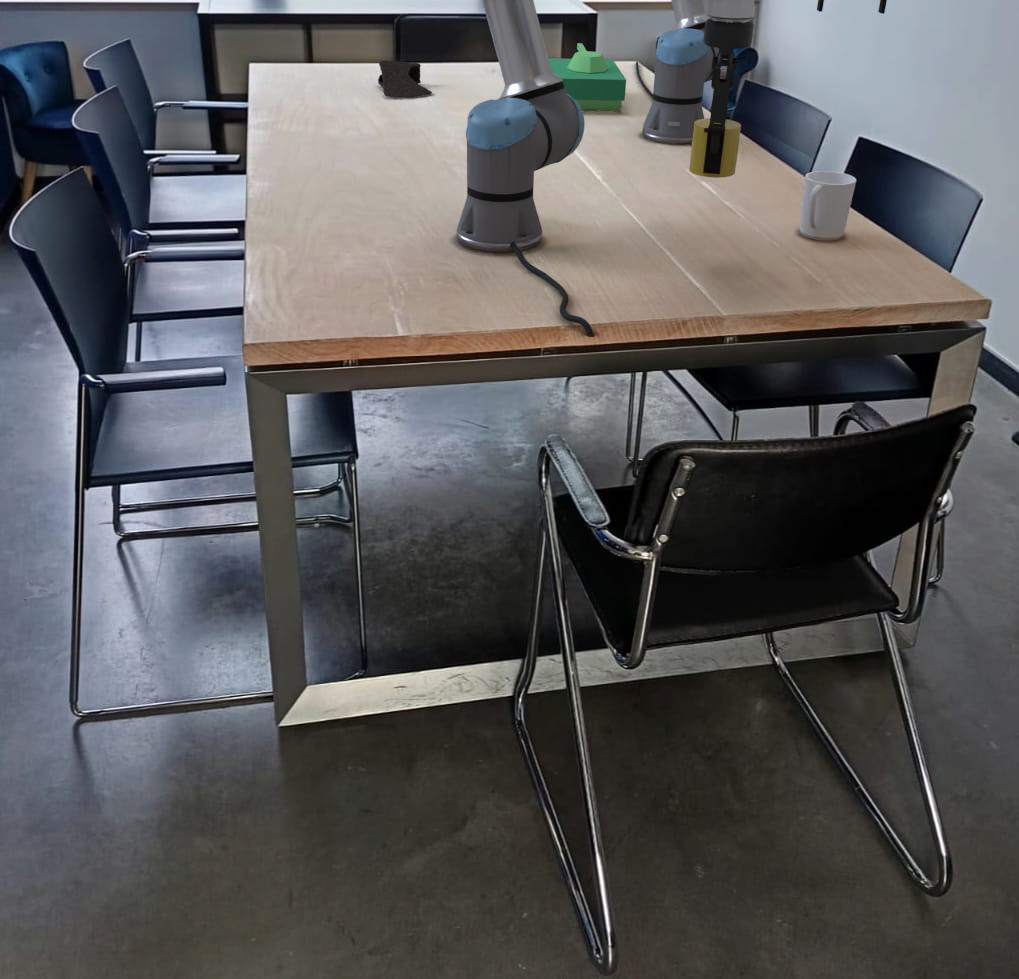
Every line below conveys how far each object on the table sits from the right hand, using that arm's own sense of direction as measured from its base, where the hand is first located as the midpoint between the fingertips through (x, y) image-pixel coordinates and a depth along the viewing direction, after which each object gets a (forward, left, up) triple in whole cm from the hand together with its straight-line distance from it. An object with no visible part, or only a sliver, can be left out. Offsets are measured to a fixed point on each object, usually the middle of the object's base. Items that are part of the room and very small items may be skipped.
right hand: (850, 11), depth 243 cm
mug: (+68, -14, -29) cm, 75 cm away
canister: (+82, -36, -14) cm, 91 cm away
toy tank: (-41, -58, -29) cm, 77 cm away
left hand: (+82, -36, -14) cm, 91 cm away
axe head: (-43, -108, -29) cm, 119 cm away
